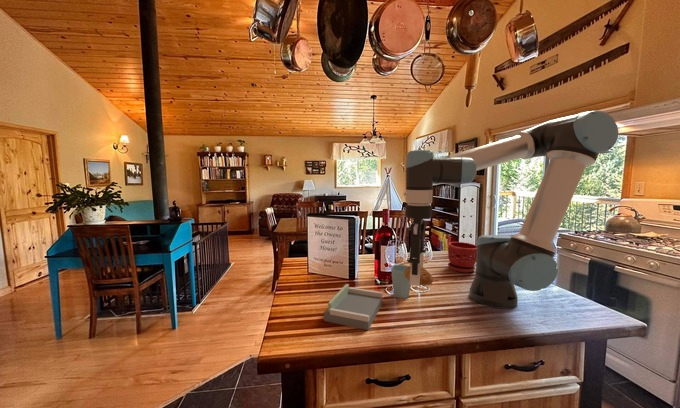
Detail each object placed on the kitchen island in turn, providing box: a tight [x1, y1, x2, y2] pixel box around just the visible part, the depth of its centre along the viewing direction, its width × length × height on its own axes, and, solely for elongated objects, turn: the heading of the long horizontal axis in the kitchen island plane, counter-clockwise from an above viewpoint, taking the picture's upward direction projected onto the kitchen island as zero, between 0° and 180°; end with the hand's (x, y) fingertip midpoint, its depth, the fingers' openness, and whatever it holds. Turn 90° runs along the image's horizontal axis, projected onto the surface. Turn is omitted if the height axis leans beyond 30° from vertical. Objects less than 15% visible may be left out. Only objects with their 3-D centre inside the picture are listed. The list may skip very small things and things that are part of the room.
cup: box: [390, 264, 411, 299], centre depth 103 cm, size 8×8×10 cm
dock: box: [323, 283, 384, 331], centre depth 91 cm, size 14×18×6 cm
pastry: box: [404, 265, 434, 287], centre depth 83 cm, size 9×7×4 cm
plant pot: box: [447, 241, 477, 273], centre depth 131 cm, size 13×13×12 cm
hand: (416, 278), depth 84 cm, fingers closed on pastry, 9 cm apart
